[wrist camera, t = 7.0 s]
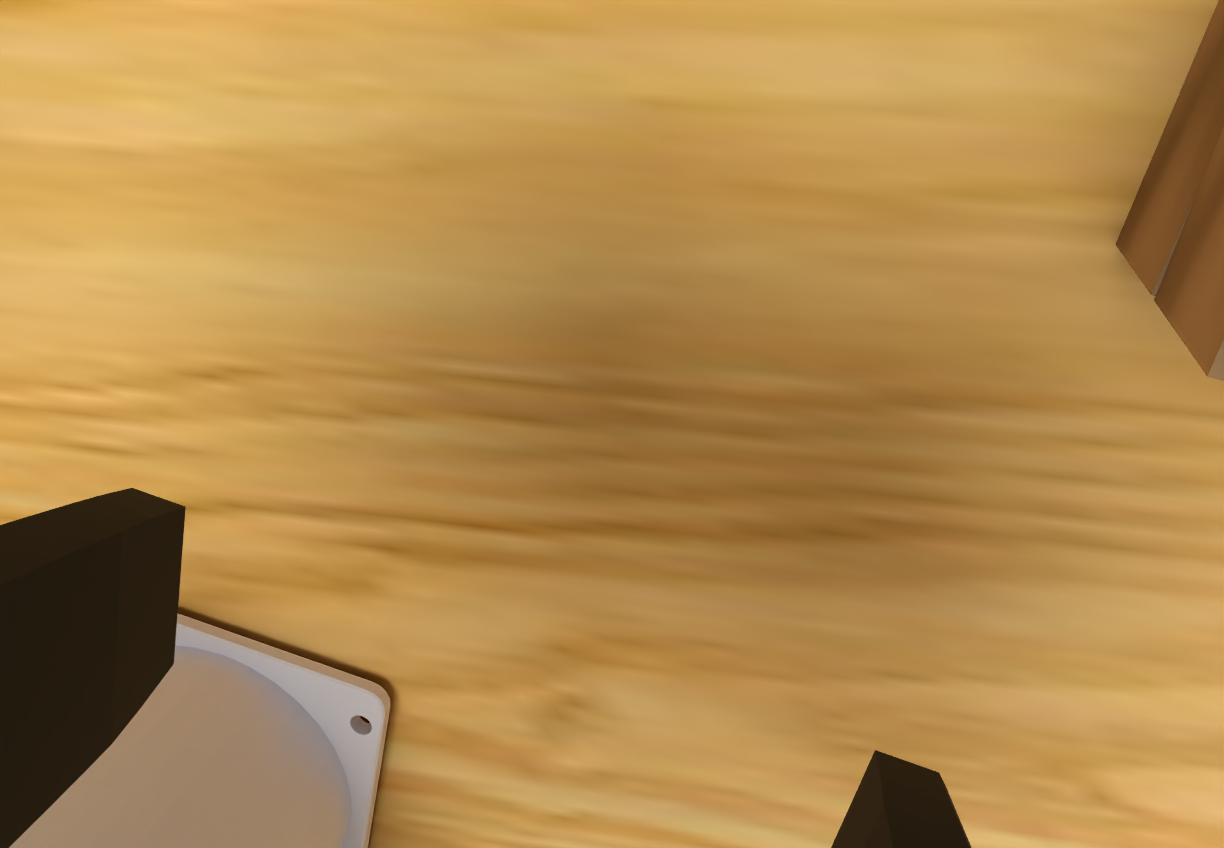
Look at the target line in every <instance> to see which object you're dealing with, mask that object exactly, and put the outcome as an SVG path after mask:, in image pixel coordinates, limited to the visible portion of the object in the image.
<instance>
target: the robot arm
mask: <svg viewBox="0 0 1224 848" xmlns="http://www.w3.org/2000/svg"><path fill="white" fill-rule="evenodd" d="M184 519H185V506H182V505H179V504H176V503H173V502H171V501H168V500H165V499H162V498H159V497H156V496H154V495H151V494H148V493H145V492H142V491H139V490H137V489H134V488H130V489H125V490H121V491H117V492H112V493H108V494H105V495H101V496H97V497H93V498H90V499H86V500H83V501H79V502H76V503H72V504H69V505H65V506H62V507H59V508H55V509H52V510H49V511H45V512H42V513H39V514H35V515H32V516H29V517H26V518H22V519H19V520H16V521H12V522H9V523H6V524H3V525H0V848H368V843H369V837H370V831H371V824H372V818H373V812H374V806H375V800H376V793H377V787H378V781H379V775H380V768H381V762H382V756H383V750H384V744H385V737H386V731H387V725H388V719H389V712H390V706H391V705H390V698H389V696H388V694H387V692H386V691H385V690H384V689H383V688H382V687H381V686H380V685H378V684H376V683H374V682H372V681H369V680H366V679H364V678H361V677H358V676H355V675H352V674H349V673H346V672H344V671H341V670H338V669H335V668H332V667H329V666H326V665H324V664H321V663H318V662H315V661H312V660H309V659H306V658H304V657H301V656H298V655H295V654H292V653H289V652H287V651H284V650H281V649H278V648H275V647H272V646H269V645H267V644H264V643H261V642H258V641H255V640H252V639H249V638H247V637H244V636H241V635H238V634H235V633H232V632H229V631H227V630H224V629H221V628H218V627H215V626H212V625H209V624H207V623H204V622H201V621H198V620H195V619H192V618H190V617H187V616H184V615H181V614H178V600H179V587H180V573H181V560H182V546H183V533H184ZM360 716H363V717H365V718H366V719H368V721H369V722H370V723H366V722H365V721H363V720H362V719H361V718H360ZM831 848H971V845H970V843H969V841H968V838H967V836H966V834H965V831H964V829H963V826H962V824H961V822H960V819H959V817H958V814H957V812H956V810H955V807H954V805H953V802H952V800H951V798H950V795H949V793H948V790H947V788H946V786H945V784H944V782H943V780H942V778H941V776H940V774H939V773H938V772H936V771H933V770H930V769H927V768H924V767H921V766H919V765H916V764H913V763H910V762H907V761H904V760H902V759H899V758H896V757H893V756H890V755H887V754H885V753H882V752H879V751H876V750H875V752H874V754H873V756H872V759H871V761H870V763H869V765H868V767H867V770H866V772H865V774H864V776H863V778H862V781H861V783H860V785H859V787H858V790H857V792H856V794H855V796H854V798H853V801H852V803H851V805H850V807H849V809H848V812H847V814H846V816H845V818H844V821H843V823H842V825H841V827H840V829H839V832H838V834H837V836H836V838H835V840H834V843H833V845H832V847H831Z"/></svg>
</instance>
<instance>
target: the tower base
mask: <svg viewBox="0 0 1224 848" xmlns="http://www.w3.org/2000/svg"><path fill="white" fill-rule="evenodd" d="M1223 127H1224V0H1219V2H1218V4H1217V7H1216V9H1215V11H1214V14H1213V16H1212V18H1211V21H1210V23H1209V25H1208V28H1207V30H1206V32H1205V35H1204V37H1203V40H1202V42H1201V44H1200V47H1199V49H1198V51H1197V54H1196V56H1195V58H1194V61H1193V63H1192V66H1191V68H1190V70H1189V73H1188V75H1187V77H1186V80H1185V82H1184V84H1183V87H1182V89H1181V91H1180V94H1179V96H1178V99H1177V101H1176V103H1175V106H1174V108H1173V110H1172V113H1171V115H1170V117H1169V120H1168V122H1167V125H1166V127H1165V129H1164V132H1163V134H1162V136H1161V139H1160V141H1159V143H1158V146H1157V148H1156V150H1155V153H1154V155H1153V158H1152V160H1151V162H1150V165H1149V167H1148V169H1147V172H1146V174H1145V176H1144V179H1143V181H1142V184H1141V186H1140V188H1139V191H1138V193H1137V195H1136V198H1135V200H1134V202H1133V205H1132V207H1131V209H1130V212H1129V214H1128V217H1127V219H1126V221H1125V224H1124V226H1123V228H1122V231H1121V233H1120V235H1119V238H1118V240H1117V243H1116V245H1117V247H1118V248H1119V250H1120V251H1121V252H1122V254H1123V255H1124V257H1125V258H1126V260H1127V261H1128V262H1129V264H1130V265H1131V267H1132V268H1133V270H1134V271H1135V272H1136V274H1137V275H1138V277H1139V278H1140V280H1141V281H1142V282H1143V284H1144V285H1145V287H1146V288H1147V290H1148V291H1149V292H1150V294H1151V295H1154V296H1156V294H1157V292H1158V289H1159V287H1160V284H1161V282H1162V279H1163V277H1164V274H1165V272H1166V269H1167V267H1168V264H1169V262H1170V259H1171V257H1172V255H1173V252H1174V250H1175V247H1176V245H1177V242H1178V240H1179V237H1180V235H1181V232H1182V230H1183V227H1184V225H1185V222H1186V220H1187V217H1188V215H1189V212H1190V210H1191V207H1192V205H1193V202H1194V200H1195V197H1196V195H1197V192H1198V190H1199V187H1200V185H1201V182H1202V180H1203V177H1204V175H1205V172H1206V170H1207V167H1208V165H1209V162H1210V160H1211V157H1212V155H1213V152H1214V150H1215V147H1216V145H1217V142H1218V140H1219V137H1220V135H1221V132H1222V130H1223Z"/></svg>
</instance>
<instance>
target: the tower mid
mask: <svg viewBox="0 0 1224 848" xmlns="http://www.w3.org/2000/svg"><path fill="white" fill-rule="evenodd" d="M1154 301H1155V302H1156V304H1157V305H1158V307H1159V308H1160V310H1161V311H1162V312H1163V314H1164V315H1165V317H1166V318H1167V320H1168V321H1169V322H1170V324H1171V325H1172V327H1173V328H1174V330H1175V331H1176V332H1177V334H1178V335H1179V337H1180V338H1181V340H1182V341H1183V342H1184V344H1185V345H1186V347H1187V348H1188V350H1189V351H1190V352H1191V354H1192V355H1193V357H1194V358H1195V360H1196V361H1197V362H1198V364H1199V365H1200V367H1201V368H1202V370H1203V371H1204V372H1205V374H1206V375H1207V377H1212V378H1216V379H1220V380H1224V127H1223V130H1222V132H1221V135H1220V137H1219V140H1218V142H1217V145H1216V147H1215V150H1214V152H1213V155H1212V157H1211V160H1210V162H1209V165H1208V167H1207V170H1206V172H1205V175H1204V177H1203V180H1202V182H1201V185H1200V187H1199V190H1198V192H1197V195H1196V197H1195V200H1194V202H1193V205H1192V207H1191V210H1190V212H1189V215H1188V217H1187V220H1186V222H1185V225H1184V227H1183V230H1182V232H1181V235H1180V237H1179V240H1178V242H1177V245H1176V247H1175V250H1174V252H1173V255H1172V257H1171V259H1170V262H1169V264H1168V267H1167V269H1166V272H1165V274H1164V277H1163V279H1162V282H1161V284H1160V287H1159V289H1158V292H1157V294H1156V297H1155V299H1154Z"/></svg>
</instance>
